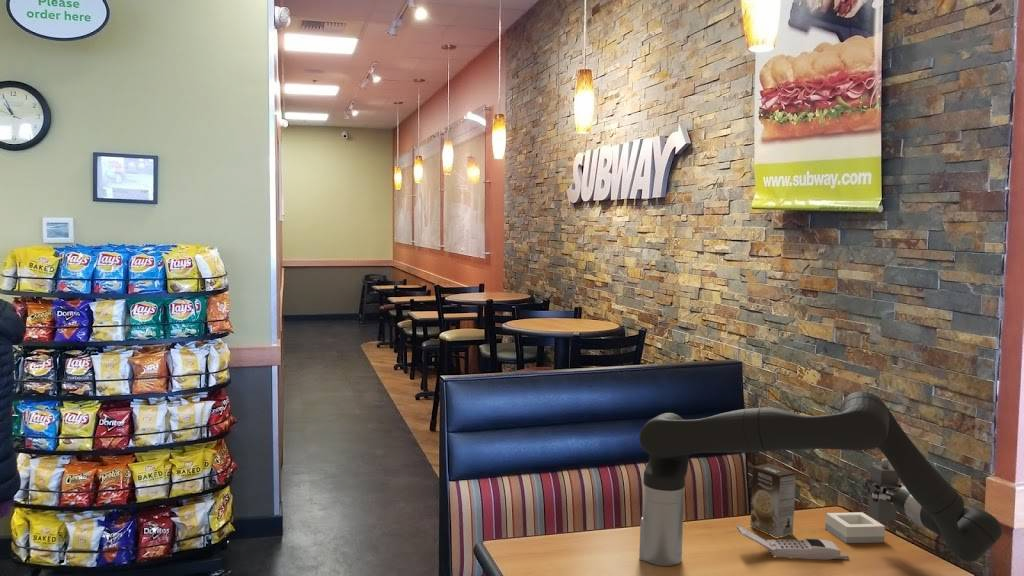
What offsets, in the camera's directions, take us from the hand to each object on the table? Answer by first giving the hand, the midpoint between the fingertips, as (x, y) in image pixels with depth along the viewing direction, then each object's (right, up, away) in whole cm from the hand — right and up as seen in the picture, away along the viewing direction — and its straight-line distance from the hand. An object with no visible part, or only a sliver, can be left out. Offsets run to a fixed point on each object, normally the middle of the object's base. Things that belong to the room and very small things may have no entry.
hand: (877, 482), depth 191 cm
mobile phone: (-22, -16, -5) cm, 28 cm away
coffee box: (-22, -15, +10) cm, 29 cm away
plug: (0, -8, -2) cm, 8 cm away
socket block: (-2, -15, +8) cm, 17 cm away
